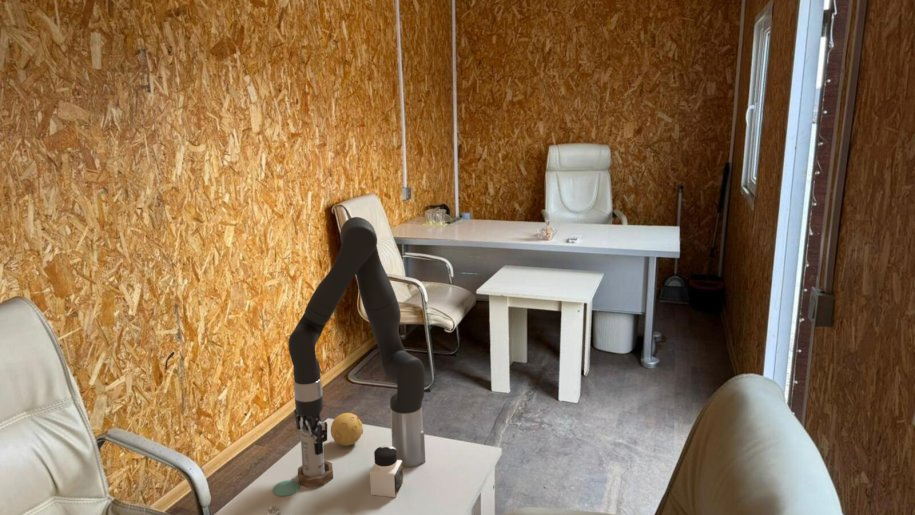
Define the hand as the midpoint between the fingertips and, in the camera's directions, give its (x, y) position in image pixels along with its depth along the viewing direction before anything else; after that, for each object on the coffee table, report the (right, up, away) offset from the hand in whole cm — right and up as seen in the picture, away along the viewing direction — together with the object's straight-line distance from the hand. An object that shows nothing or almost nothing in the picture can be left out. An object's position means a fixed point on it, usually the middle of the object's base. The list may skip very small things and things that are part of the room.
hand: (312, 449), depth 172 cm
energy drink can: (0, -9, +2) cm, 9 cm away
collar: (0, -9, +2) cm, 9 cm away
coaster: (-7, -10, -3) cm, 12 cm away
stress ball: (+6, -5, +19) cm, 21 cm away
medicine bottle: (+21, -10, -4) cm, 24 cm away
